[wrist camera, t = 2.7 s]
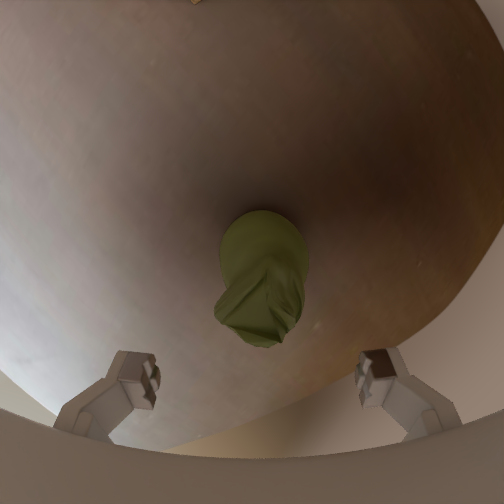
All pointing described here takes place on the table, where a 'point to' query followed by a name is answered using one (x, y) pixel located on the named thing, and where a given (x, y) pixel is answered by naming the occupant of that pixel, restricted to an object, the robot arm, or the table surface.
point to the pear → (262, 277)
